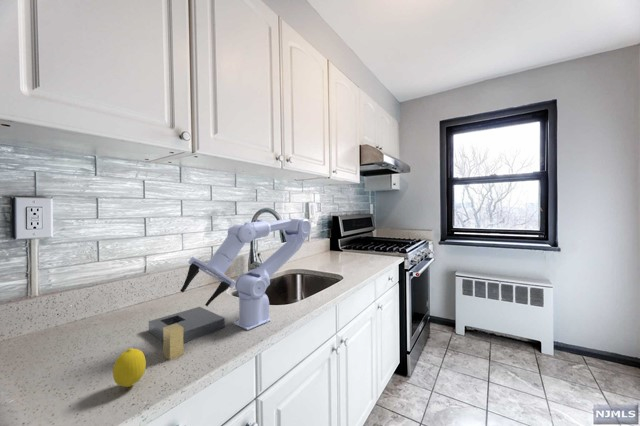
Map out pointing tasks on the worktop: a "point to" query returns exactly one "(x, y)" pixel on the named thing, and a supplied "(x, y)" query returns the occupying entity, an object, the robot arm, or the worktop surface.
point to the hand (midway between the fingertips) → (193, 298)
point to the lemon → (129, 367)
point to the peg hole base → (189, 323)
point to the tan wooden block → (173, 341)
